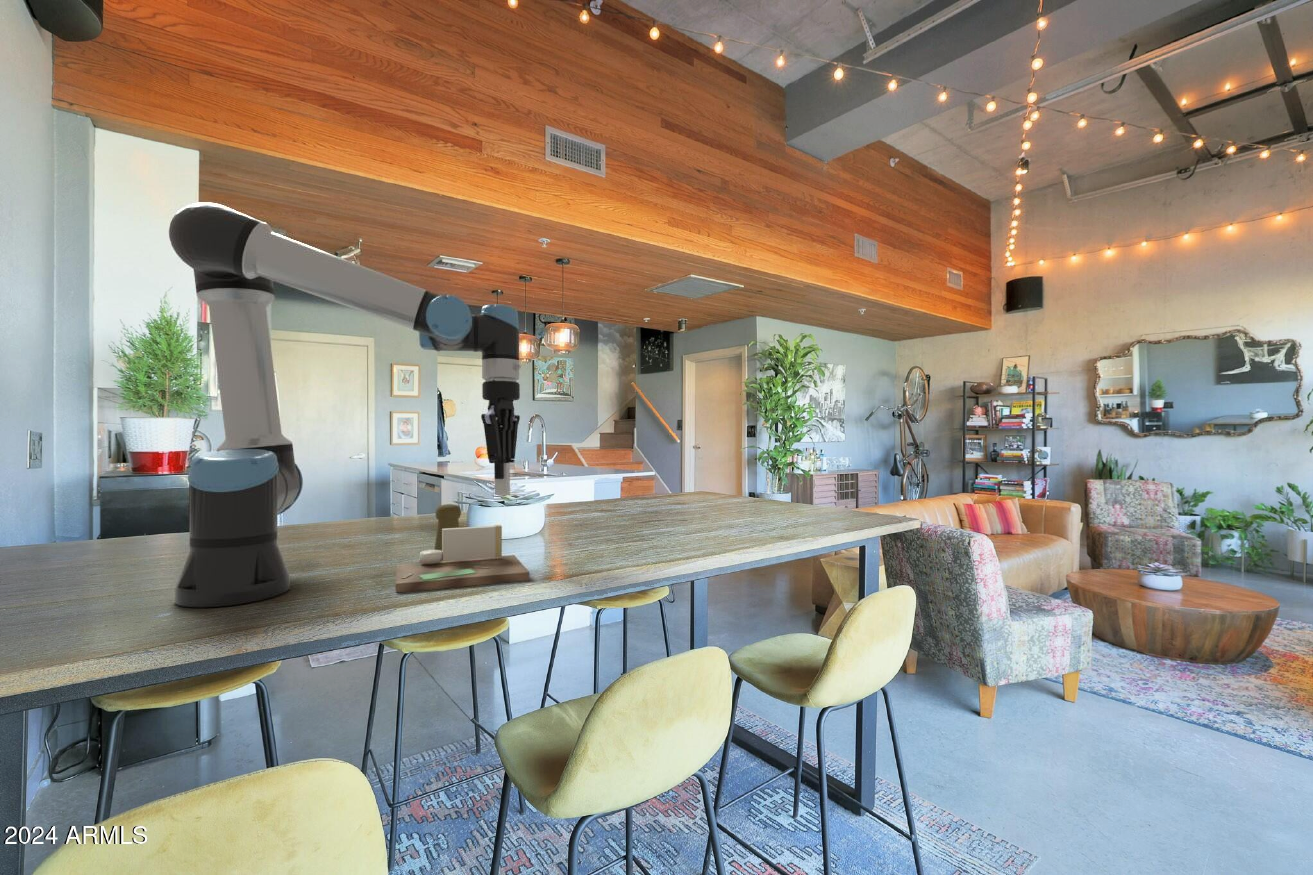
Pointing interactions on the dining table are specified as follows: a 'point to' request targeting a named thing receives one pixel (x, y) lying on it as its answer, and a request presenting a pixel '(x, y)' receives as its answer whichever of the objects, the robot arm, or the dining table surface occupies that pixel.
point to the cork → (446, 521)
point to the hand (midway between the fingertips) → (502, 494)
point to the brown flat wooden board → (459, 573)
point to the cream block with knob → (466, 544)
